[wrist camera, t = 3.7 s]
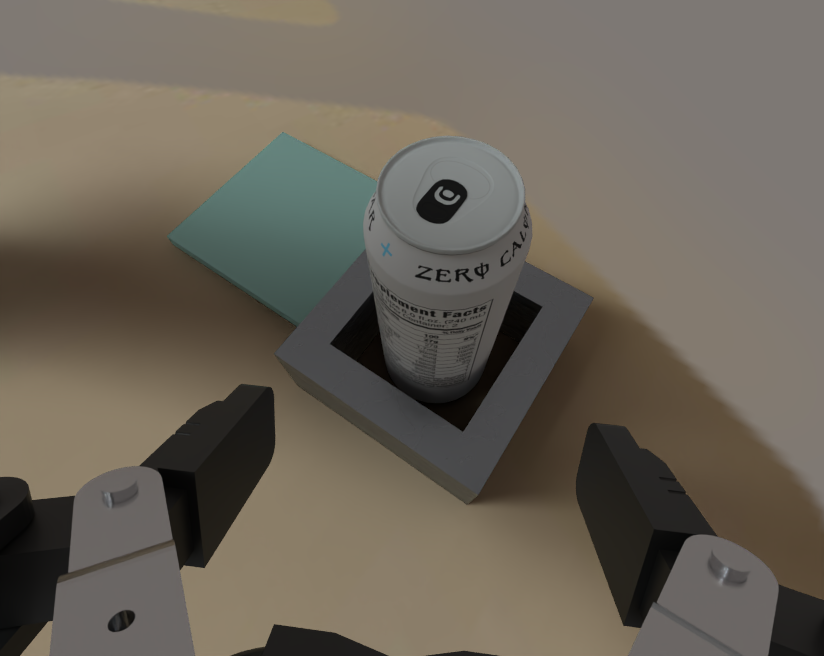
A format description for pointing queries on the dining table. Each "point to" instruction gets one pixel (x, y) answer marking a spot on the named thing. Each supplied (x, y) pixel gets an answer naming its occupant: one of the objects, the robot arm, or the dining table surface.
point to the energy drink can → (444, 260)
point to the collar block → (406, 418)
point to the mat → (282, 226)
